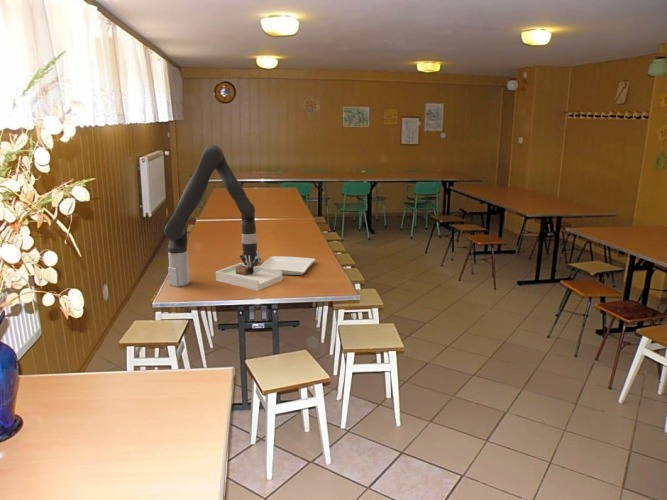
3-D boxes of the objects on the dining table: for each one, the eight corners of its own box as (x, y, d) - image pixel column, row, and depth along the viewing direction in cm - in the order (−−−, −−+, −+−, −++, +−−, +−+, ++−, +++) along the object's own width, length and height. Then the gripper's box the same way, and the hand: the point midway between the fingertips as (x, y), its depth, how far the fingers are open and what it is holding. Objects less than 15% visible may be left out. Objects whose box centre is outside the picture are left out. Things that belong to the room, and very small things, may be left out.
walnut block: (245, 275, 270) (245, 269, 269) (235, 273, 274) (235, 267, 273) (251, 273, 273) (251, 267, 273) (241, 271, 277) (241, 265, 276)
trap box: (258, 290, 256) (257, 281, 255) (216, 280, 272) (215, 271, 271) (282, 280, 272) (282, 271, 271) (241, 271, 287) (241, 262, 286)
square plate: (304, 278, 276) (304, 271, 275) (255, 275, 282) (255, 268, 281) (316, 263, 302) (316, 257, 301) (271, 261, 307) (271, 255, 306)
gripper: (234, 241, 266) (236, 273, 271) (254, 244, 259) (255, 277, 263) (244, 238, 272) (246, 270, 277) (264, 241, 265) (265, 274, 269)
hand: (250, 273), depth 270 cm, fingers closed
